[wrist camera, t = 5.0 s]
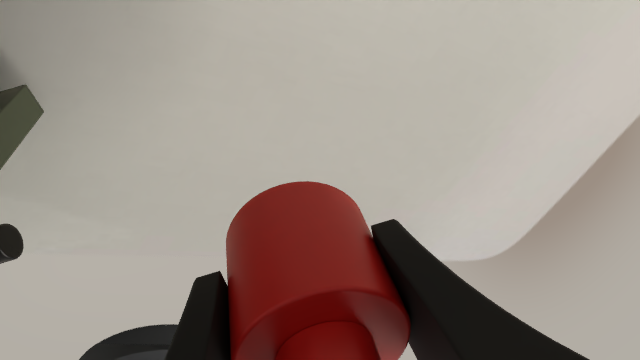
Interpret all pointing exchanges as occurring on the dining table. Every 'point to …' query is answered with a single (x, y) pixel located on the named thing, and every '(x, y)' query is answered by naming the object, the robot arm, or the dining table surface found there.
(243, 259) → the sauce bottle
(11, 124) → the drawer
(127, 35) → the dining table surface
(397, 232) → the robot arm
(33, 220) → the dining table surface
